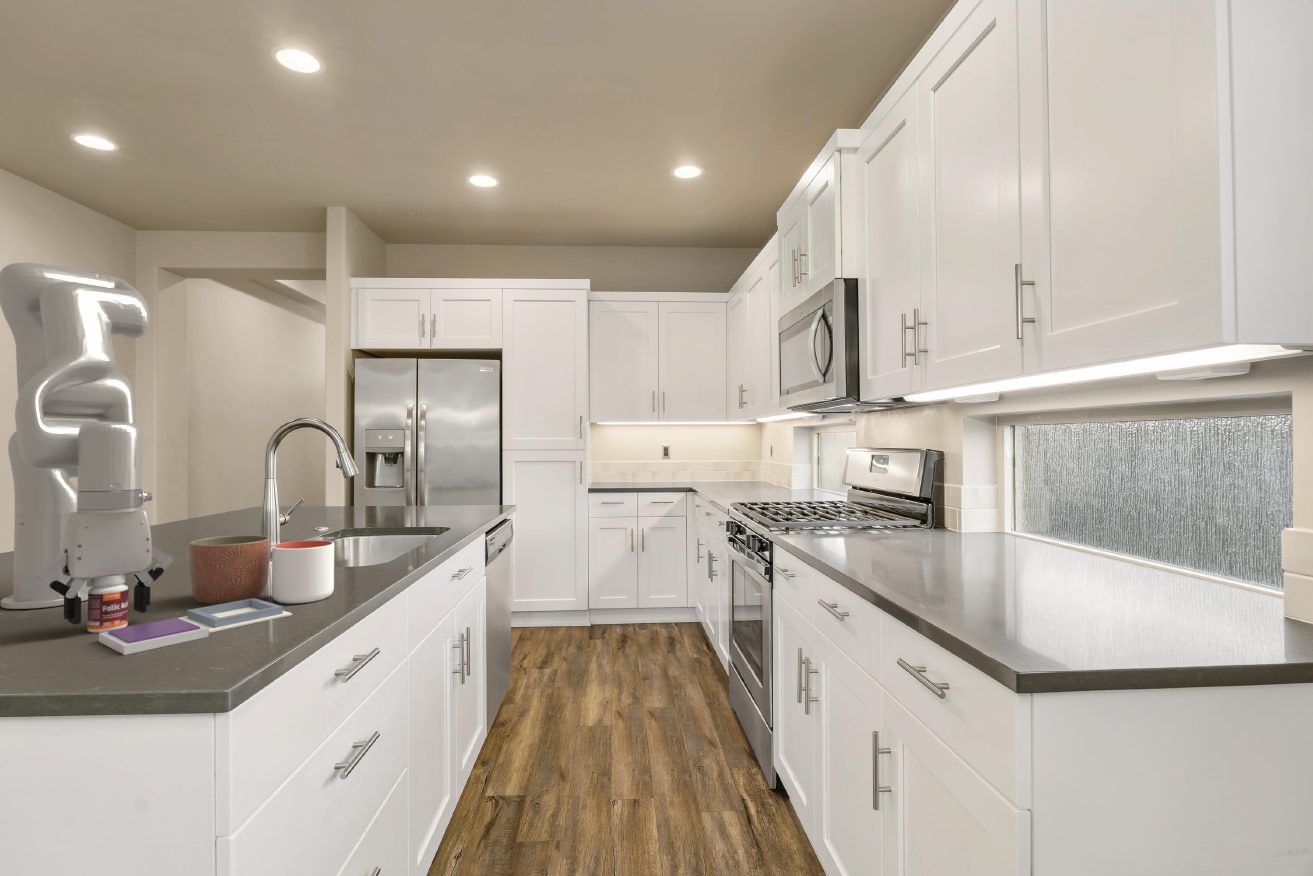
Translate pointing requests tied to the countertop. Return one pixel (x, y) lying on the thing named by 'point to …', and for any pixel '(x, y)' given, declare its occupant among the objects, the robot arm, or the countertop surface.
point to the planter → (229, 568)
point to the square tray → (235, 614)
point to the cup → (302, 571)
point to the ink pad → (152, 635)
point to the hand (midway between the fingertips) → (108, 616)
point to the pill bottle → (107, 604)
